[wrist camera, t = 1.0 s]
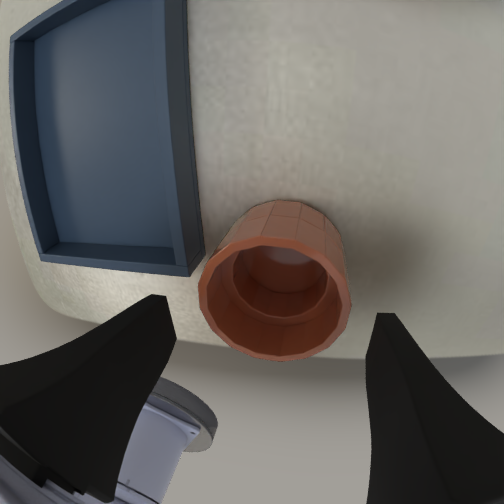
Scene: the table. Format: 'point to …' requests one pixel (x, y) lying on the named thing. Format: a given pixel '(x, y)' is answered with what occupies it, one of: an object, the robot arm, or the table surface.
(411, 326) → the table surface
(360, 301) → the table surface
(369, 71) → the table surface
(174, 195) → the tray
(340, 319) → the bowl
